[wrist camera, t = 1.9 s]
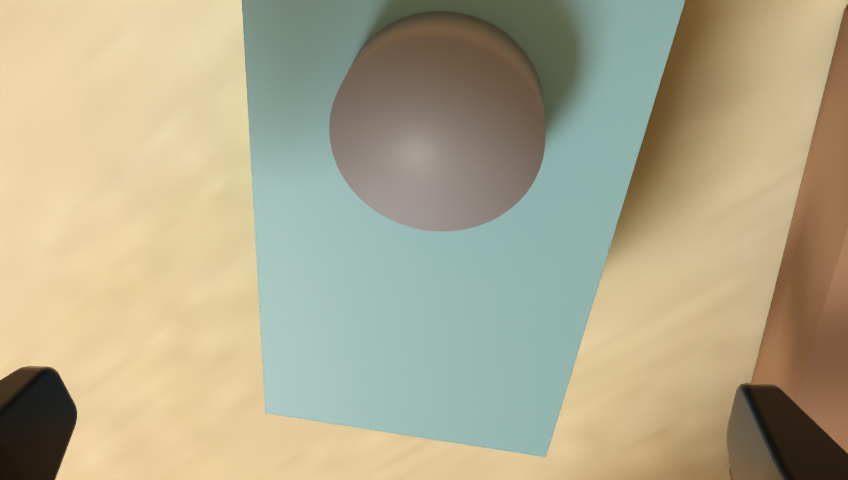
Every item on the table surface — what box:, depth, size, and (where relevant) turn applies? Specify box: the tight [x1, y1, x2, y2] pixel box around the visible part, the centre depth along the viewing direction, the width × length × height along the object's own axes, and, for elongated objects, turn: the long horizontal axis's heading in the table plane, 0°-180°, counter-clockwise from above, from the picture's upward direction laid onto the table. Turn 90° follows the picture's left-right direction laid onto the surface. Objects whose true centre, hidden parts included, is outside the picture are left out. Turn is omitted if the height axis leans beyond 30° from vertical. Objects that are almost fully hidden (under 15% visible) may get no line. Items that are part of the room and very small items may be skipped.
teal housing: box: [242, 0, 685, 457], centre depth 14 cm, size 10×6×6 cm, turn 175°
